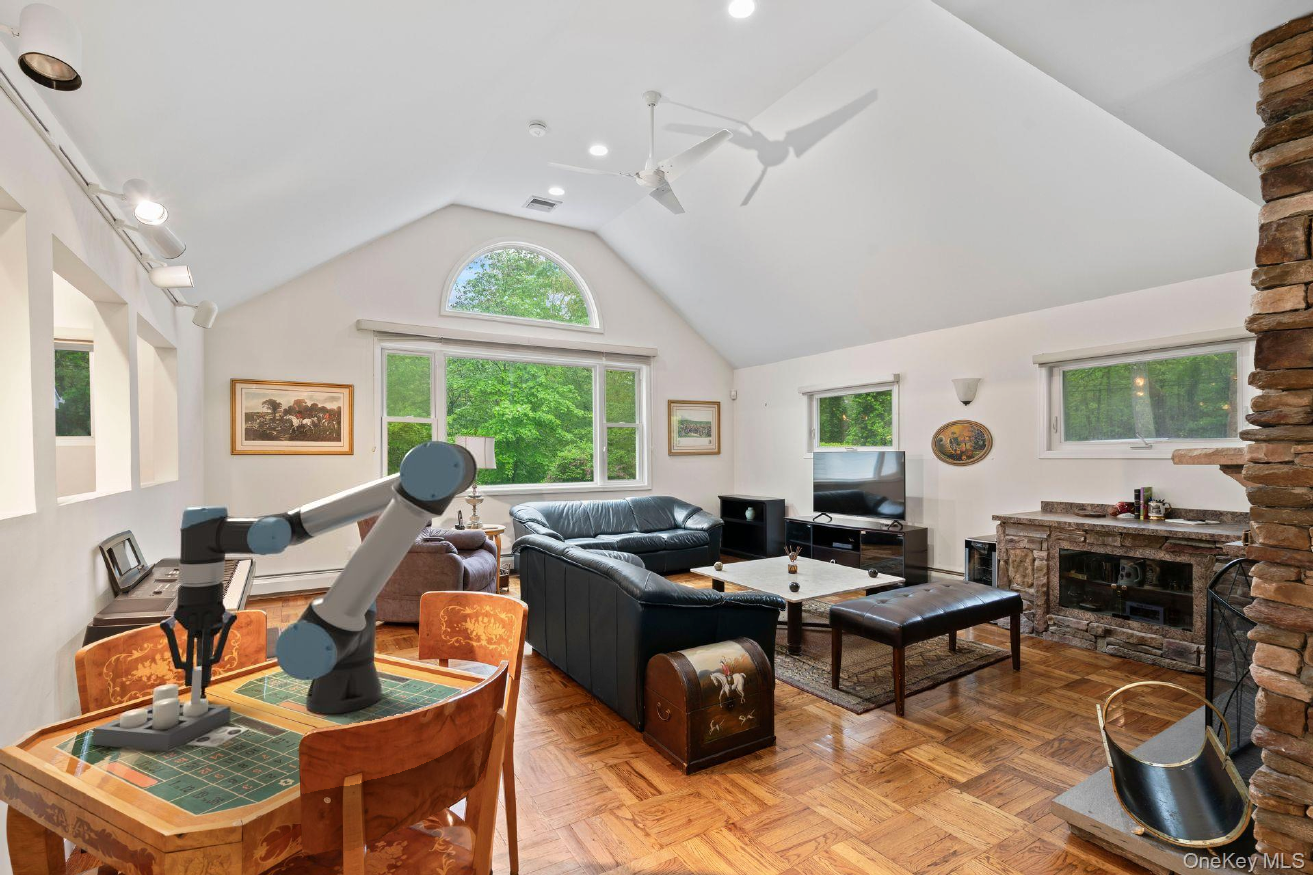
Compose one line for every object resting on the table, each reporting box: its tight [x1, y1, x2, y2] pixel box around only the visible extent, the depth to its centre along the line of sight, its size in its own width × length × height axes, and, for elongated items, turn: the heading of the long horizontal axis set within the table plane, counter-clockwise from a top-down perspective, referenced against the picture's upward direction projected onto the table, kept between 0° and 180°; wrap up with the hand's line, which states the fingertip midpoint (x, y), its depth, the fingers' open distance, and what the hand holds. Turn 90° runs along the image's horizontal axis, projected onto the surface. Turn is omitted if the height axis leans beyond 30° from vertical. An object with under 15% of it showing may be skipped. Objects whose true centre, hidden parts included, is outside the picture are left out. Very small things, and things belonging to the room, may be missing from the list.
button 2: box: [152, 683, 179, 713], centre depth 127 cm, size 4×4×4 cm
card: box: [186, 725, 250, 748], centre depth 122 cm, size 6×8×1 cm
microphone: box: [195, 615, 224, 699], centre depth 141 cm, size 7×7×20 cm
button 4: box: [183, 698, 209, 717], centre depth 126 cm, size 4×4×4 cm
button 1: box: [119, 708, 147, 728], centre depth 121 cm, size 4×4×4 cm
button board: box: [92, 701, 232, 752], centre depth 123 cm, size 16×14×3 cm
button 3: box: [152, 697, 181, 730], centre depth 120 cm, size 4×4×4 cm
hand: (195, 701), depth 126 cm, fingers closed
